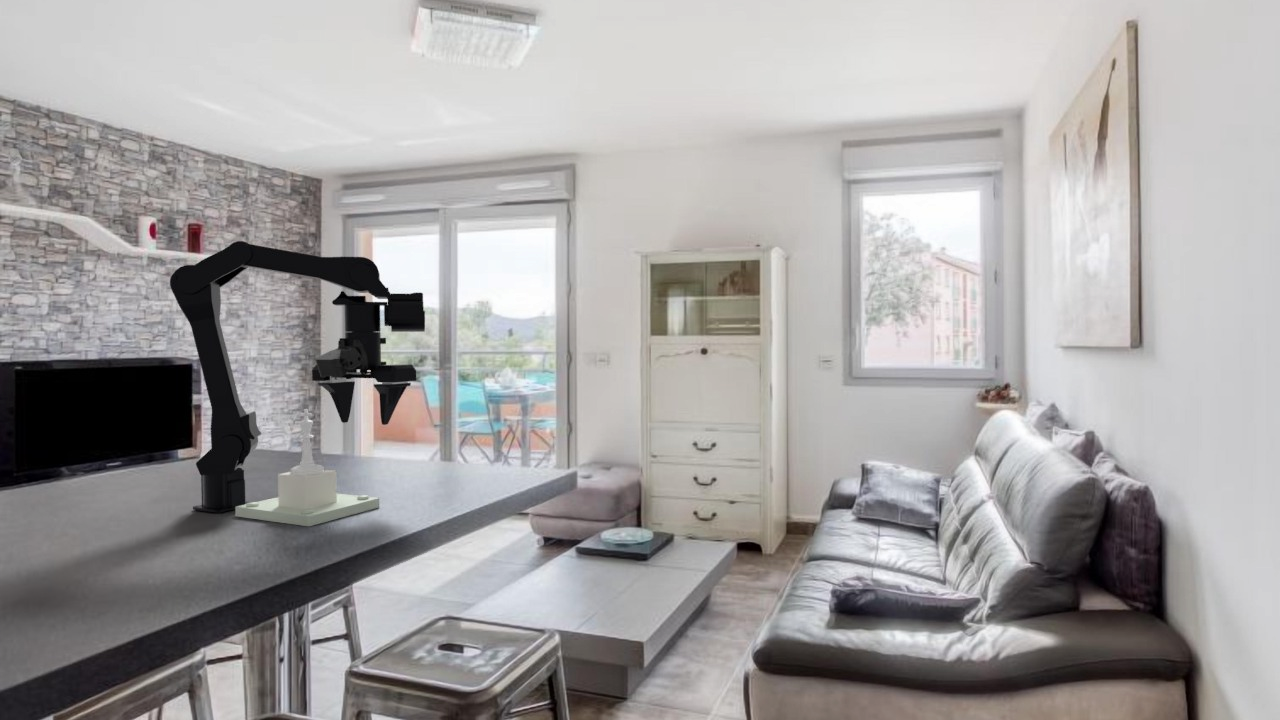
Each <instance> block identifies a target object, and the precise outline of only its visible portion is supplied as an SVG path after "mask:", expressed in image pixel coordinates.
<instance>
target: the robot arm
mask: <svg viewBox="0 0 1280 720" xmlns="http://www.w3.org/2000/svg"><path fill="white" fill-rule="evenodd" d="M248 268H249V269H250V268H252V269H257V270H265V271H270V272H276V273H281V274H287V275H294V276H297V277H298V276H299V277H305V278H310V279H316V280H321V281H324V282H327V283H330V284H333V285H336V286H338V287H341V288H344V289H347V290H350V291H352V292H355V293H359V294H367V293H368V294H370V295H372V296H373V297H374V298H376V299H378V300H387V301H367V296H366V295H347V294H346V292H345V291H344V290H342V291H340V293H339V294H338V296H337V297H336V298H335V299H333V300H332V301H331V304H332V305H333V306H337V307H338V306H342V307H343V306H344V338H342V337H341V338H339V339H338V343H337V345H338V346H337V348H335V349H332V350H329V351H327V352H325V353H323V354H321V355H320V356H317V357H316V358H315V362H316V365H315V366H314V367H313V368H312V370H311V380H312V381H313V382H314V381H315V382H317V386H320V387H322V388H324V389H325V390H326V391H327V392H328V393H329V395H330V396H331V399H332V401H333V403H334V406H335V409H336V411H337V413H338V416H339V418H340V421H341V423H344V424H345V423H348V422H349V418H350V414H351V410H352V409H351V408H352V403H353V397H354V391H355V390H354V389H355V382H356V381H353V380H352V379H374V380H375V381H376V382H377V383H376V384H375V383H374V384H373V387H374V388H375V389H376V391H377V393H378V395H379V412H380V420H381V424H382V425H384V426H385V425H388V424H389V423H390V421H391V419H392V416H393V414H394V411H395V410H396V407H397V406H398V403H399V401H400V400H401V398H402V396H403V394H404V392H405V391H406V389H407V387H411V384H412V383H411V382H416V381H417V369H416V368H415V367H414V365H413V364H406V363H405V364H404V363H403V364H402V363H401V364H400V363H399V364H396V363H395V364H387V361H382V346H381V345H386V344H387V338H386V337H381V336H382V335H381V306H383V308H384V309H383V313H384V314H383V315H384V316H383V317H384V318H383V319H384V327H390V329H391V332H392V333H393V332H394V333H401V332H402V333H403V332H404V333H409V332H410V333H411V332H412V333H413V332H418V333H419V332H420V333H421V332H426V331H425V329H426V323H425V322H426V311H425V310H424V293H423V292H413V293H412V292H411V293H391V292H390V291H389V287H386V286H385V285H384V283H383V282H382V281H381V280H380V278H381V277H380V271H379V269H378V266H377V265H376V264H375V262H374V261H373V260H372V259H370V258H367V257H365V256H317V255H313V254H307V253H301V252H296V251H292V250H291V251H290V250H285V249H279V248H273V247H269V246H268V247H267V246H263V245H257V244H251V243H248V242H246V241H243V240H241V241H240V240H237V241H235V242H232V243H231V244H229V245H228V246H227V247H224V249H222V250H219V251H218V252H216V253H213V254H212V255H209V256H208V257H206V258H203V259H202V260H200V261H199V262H197V263H195V264H186V265H183V266H180V267H179V268H177V269H175V271H174V272H173V273H172V274H171V276H170V279H169V287H170V290H171V291H172V293H173V296H174V298H175V301H176V303H177V304H178V306H179V308H180V310H181V311H182V313H183V314H184V316H185V318H186V319H187V322H188V323H189V325H190V327H191V332H192V336H193V339H194V344H195V349H196V352H197V355H198V360H199V364H200V367H201V372H202V376H203V379H204V383H205V386H206V391H207V394H208V395H207V396H208V398H209V399H208V400H209V403H210V406H211V420H210V441H211V442H210V444H211V445H210V446H211V448H210V449H209V450H208V451H207V452H206V453H205V454H204V455H203V456H202V457H200V459H198V461H196V462H195V466H196V468H197V470H198V472H199V475H200V482H201V483H200V484H201V486H200V488H201V491H200V492H201V504H199V505H194V506H192V510H193V511H200V512H208V513H215V514H220V513H223V512H228V511H232V510H233V511H235V507H236V506H241V505H245V504H247V503H250V502H251V501H247V500H246V479H245V469H243V468H241V467H243V465H244V463H245V462H246V458H247V457H249V456H250V455H251V454H252V453H254V451H255V450H256V448H257V447H258V444H259V436H261V435H262V432H261V430H260V429H259V427H258V425H257V414H256V411H251V412H249V413H247V412H246V411H245V409H244V407H243V406H242V404H241V402H240V397H239V393H238V390H237V385H236V381H235V377H234V374H233V373H234V372H233V370H232V365H231V362H230V357H229V353H228V349H227V345H226V342H225V337H224V333H223V330H222V324H221V319H220V318H221V316H220V315H221V304H222V300H221V288H222V287H224V286H225V285H226V284H228V283H229V282H231V281H233V279H235V278H236V277H237V276H238V275H240V274H241V273H242V272H244V271H246V270H247V269H248ZM358 370H359V372H358ZM351 380H352V381H351ZM318 381H319V382H318Z"/></svg>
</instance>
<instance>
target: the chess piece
mask: <svg viewBox="0 0 1280 720" xmlns="http://www.w3.org/2000/svg"><path fill="white" fill-rule="evenodd" d="M312 416H313V413H312V412H309V408H304V409H303V412H300V417H303V420H300V421H299V422H298V423H299V426H300V428H301V431H302V434H301V435H299V437H298V438H299V439H300V440H303V443H302V454H301V459H300V462H299V465H296V466H295V465H294V466H293V467H291V468H290V472H291V473H290V474H292V475H312V474H319V473H322V472H324V470H325V469H324V468H325V467H324V466H323V465H320V464H316V461H315V460H314V458H313V452H312V445H311V439H314V437H315V435H313V434H311V431H312V427H313V425H314V421H313V420H311V419H309V417H312Z"/></svg>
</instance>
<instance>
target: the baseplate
mask: <svg viewBox="0 0 1280 720" xmlns="http://www.w3.org/2000/svg"><path fill="white" fill-rule="evenodd" d="M249 502H250V503H247V504H245V505H241V506H236V507H235V509H234V512H235V517H238V518H239V517H240V518H245V519H252V520H253V519H254V520H261V521H267V522H274V523H276V522H277V523H282V524H289V525H297V526H303V527H311V526H315V525H319V524H324V523H326V522H330V521H333V520H337V519H342V518H346V517H348V516H353V515H356V514H360V513H363V512H368V511H370V510H375V509H379V508H380V497H379V498H378V497H371V496H370V495H366V494H365V495H355V494H345V493H337V502H335V503H330V504H326V505H322V506H318V507H314V508H310V509H297V508H289V507H282V506H278V496H277V497H272V498H269V499H263V500H259V501H249Z"/></svg>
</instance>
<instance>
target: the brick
mask: <svg viewBox="0 0 1280 720" xmlns="http://www.w3.org/2000/svg"><path fill="white" fill-rule="evenodd" d="M323 470H324V472H322V473H319V474H312V475H292V474H290V473H291V471H287V472H283V473H282V472H281V473H278V474H277V497H278V506H282V507H289V508H297V509H310V508H314V507H318V506H322V505H326V504H330V503H335V502H337V494H338V491H337V490H338V489H337V470H334V469H332V470H331V469H323Z"/></svg>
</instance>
